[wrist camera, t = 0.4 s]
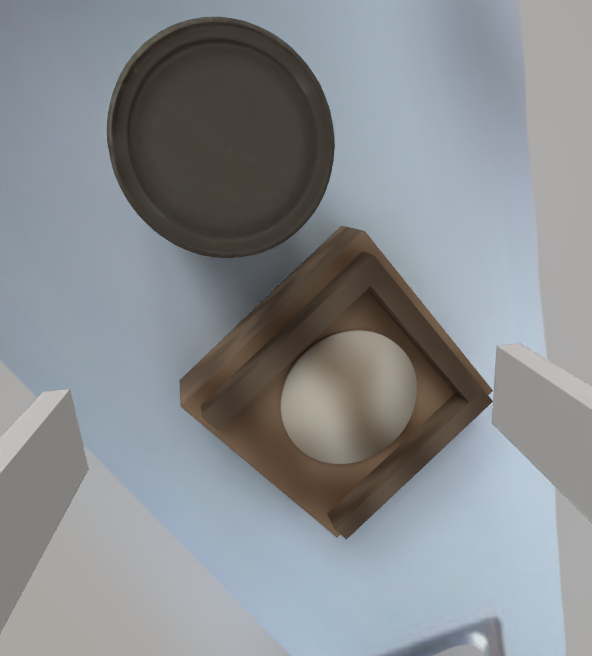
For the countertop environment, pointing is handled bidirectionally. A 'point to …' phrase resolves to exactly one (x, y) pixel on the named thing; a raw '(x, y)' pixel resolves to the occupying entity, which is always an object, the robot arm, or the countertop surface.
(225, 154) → the coffee can
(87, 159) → the countertop surface
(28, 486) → the robot arm
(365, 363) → the display stand
